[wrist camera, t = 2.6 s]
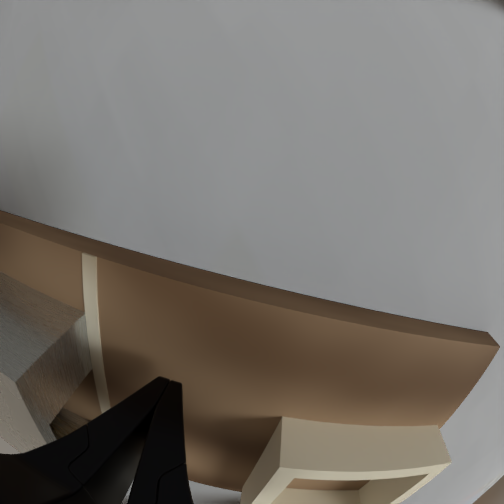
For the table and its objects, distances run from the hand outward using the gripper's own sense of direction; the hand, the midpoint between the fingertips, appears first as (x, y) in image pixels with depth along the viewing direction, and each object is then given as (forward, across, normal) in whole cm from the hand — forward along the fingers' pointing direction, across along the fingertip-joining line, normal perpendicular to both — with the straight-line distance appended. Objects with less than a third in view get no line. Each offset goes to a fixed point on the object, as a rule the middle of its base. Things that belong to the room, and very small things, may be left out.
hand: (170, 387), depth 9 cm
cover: (+1, +8, +4) cm, 9 cm away
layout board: (+2, +4, +4) cm, 6 cm away
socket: (+1, -8, +6) cm, 10 cm away
